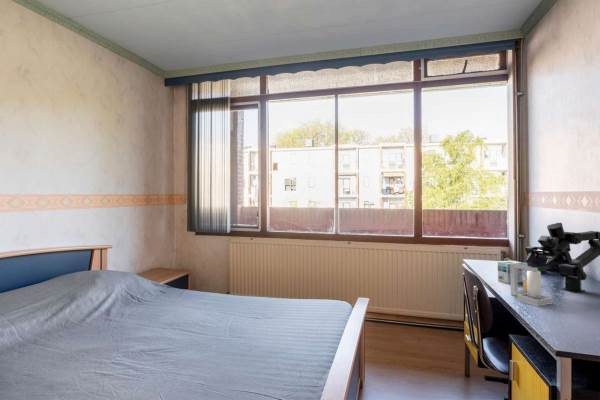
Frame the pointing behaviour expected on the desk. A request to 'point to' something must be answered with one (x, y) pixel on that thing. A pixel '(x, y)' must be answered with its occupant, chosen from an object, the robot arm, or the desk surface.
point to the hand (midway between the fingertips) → (536, 263)
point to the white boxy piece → (515, 278)
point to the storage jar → (539, 263)
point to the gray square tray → (534, 300)
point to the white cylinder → (534, 284)
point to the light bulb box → (508, 271)
